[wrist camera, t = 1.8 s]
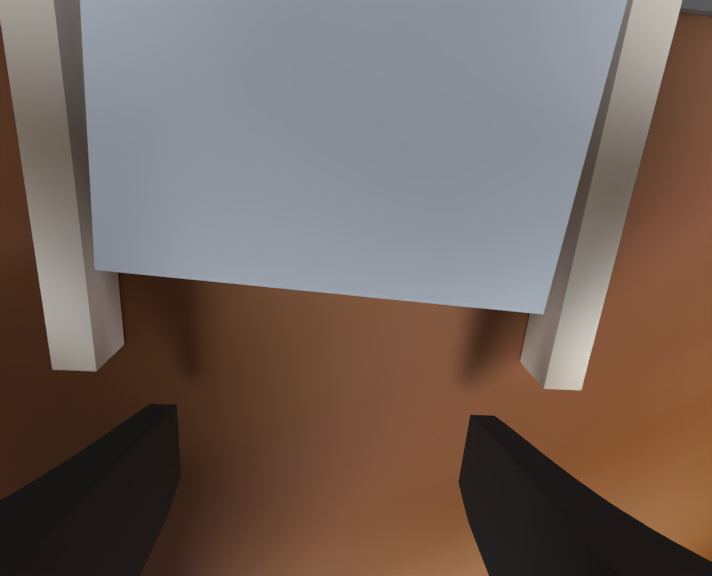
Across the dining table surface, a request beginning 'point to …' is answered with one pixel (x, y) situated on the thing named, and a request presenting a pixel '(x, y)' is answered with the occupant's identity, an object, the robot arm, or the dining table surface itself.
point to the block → (343, 141)
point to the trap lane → (101, 288)
